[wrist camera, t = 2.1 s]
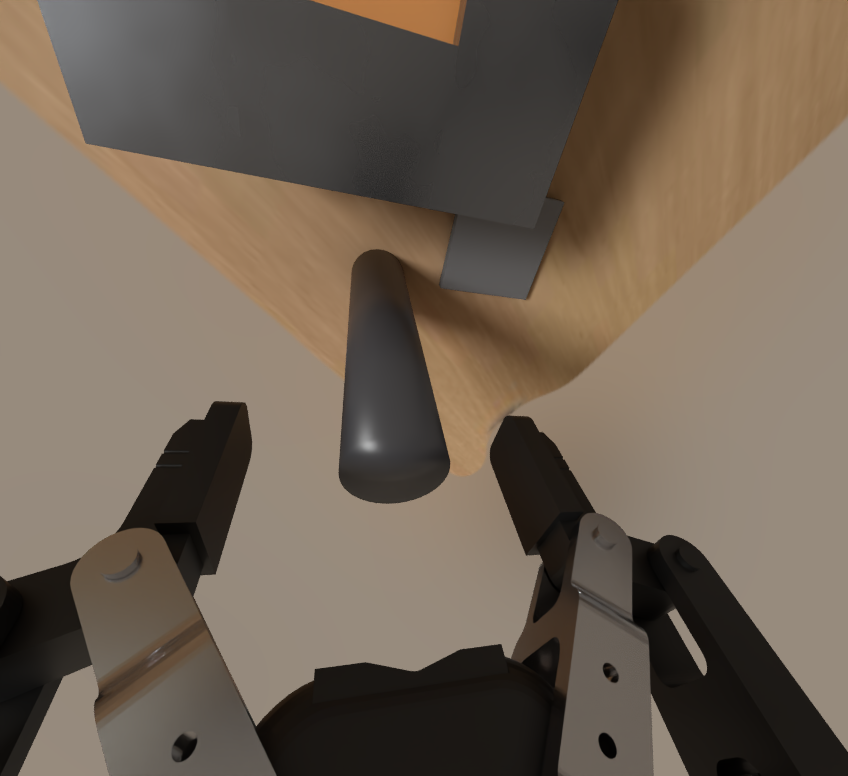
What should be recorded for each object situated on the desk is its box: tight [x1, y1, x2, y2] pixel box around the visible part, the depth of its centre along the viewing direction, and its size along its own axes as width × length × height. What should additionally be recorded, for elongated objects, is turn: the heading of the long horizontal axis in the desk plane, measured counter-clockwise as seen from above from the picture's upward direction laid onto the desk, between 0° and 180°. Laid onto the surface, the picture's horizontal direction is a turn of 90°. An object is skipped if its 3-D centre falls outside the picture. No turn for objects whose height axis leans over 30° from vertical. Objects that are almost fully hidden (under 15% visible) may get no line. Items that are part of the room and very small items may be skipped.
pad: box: [439, 197, 564, 300], centre depth 21 cm, size 6×6×1 cm
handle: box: [339, 249, 450, 504], centre depth 16 cm, size 3×3×15 cm
